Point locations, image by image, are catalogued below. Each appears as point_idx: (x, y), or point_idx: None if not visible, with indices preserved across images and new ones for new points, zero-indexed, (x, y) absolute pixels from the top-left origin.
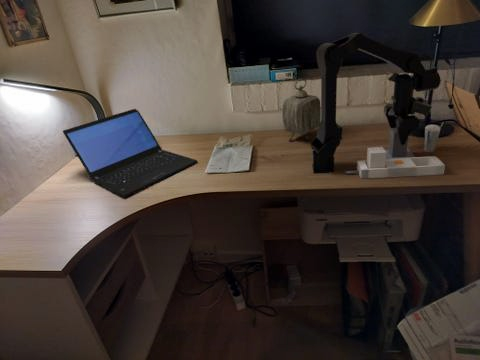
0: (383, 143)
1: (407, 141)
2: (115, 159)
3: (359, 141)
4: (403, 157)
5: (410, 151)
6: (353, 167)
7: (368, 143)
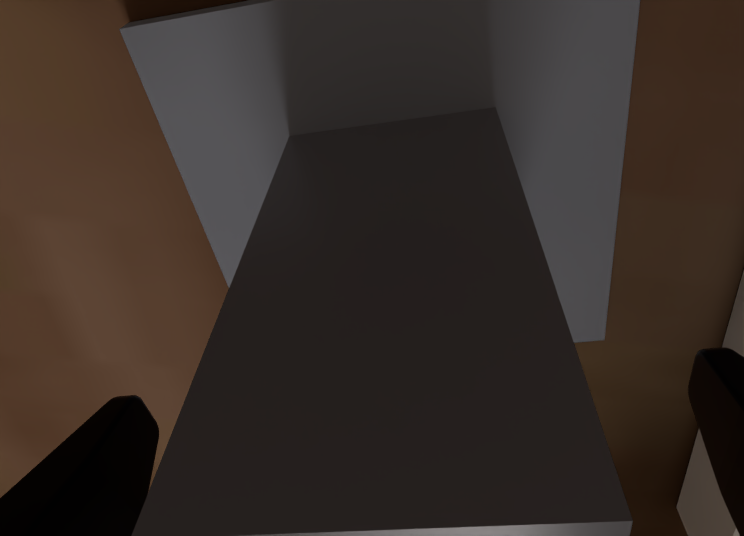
0: (4, 292)
1: (546, 273)
2: None
3: (37, 459)
4: (520, 145)
5: (269, 2)
6: (638, 518)
7: (63, 408)
